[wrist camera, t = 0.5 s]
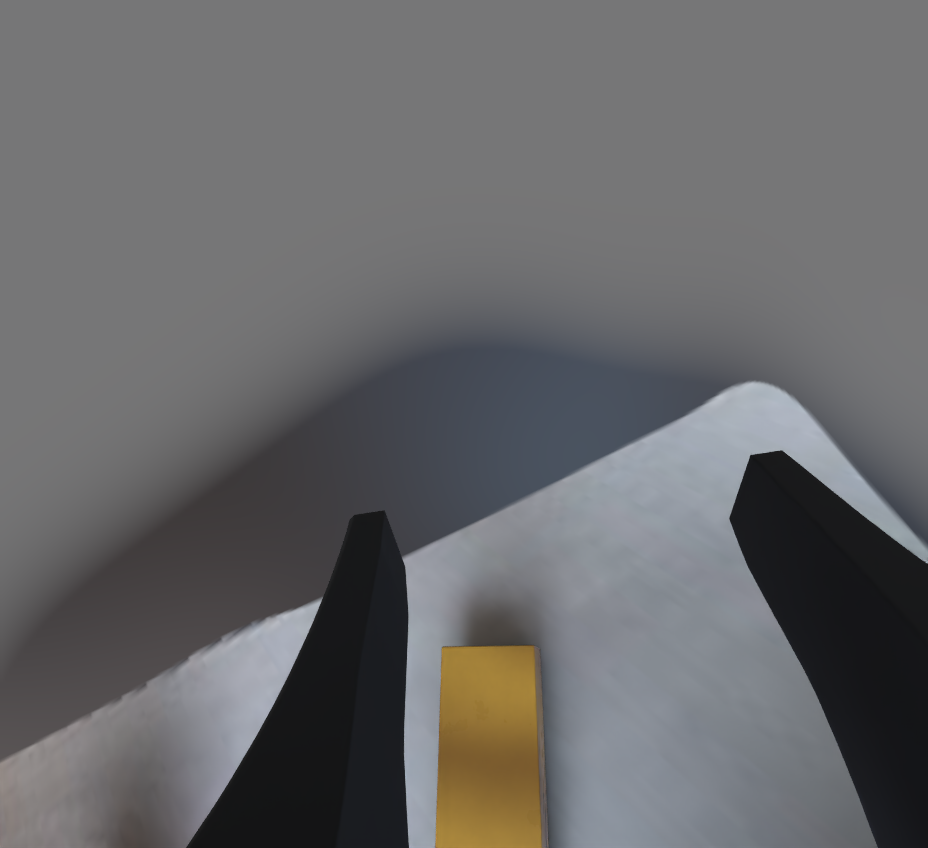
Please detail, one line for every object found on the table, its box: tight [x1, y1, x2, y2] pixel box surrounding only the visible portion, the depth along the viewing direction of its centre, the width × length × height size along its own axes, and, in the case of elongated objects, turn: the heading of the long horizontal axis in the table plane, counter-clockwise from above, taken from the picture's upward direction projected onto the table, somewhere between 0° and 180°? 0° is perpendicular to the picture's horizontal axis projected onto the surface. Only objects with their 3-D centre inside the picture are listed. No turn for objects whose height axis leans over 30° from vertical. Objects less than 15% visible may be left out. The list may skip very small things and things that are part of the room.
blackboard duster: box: [435, 645, 549, 848], centre depth 26 cm, size 11×5×3 cm, turn 178°
